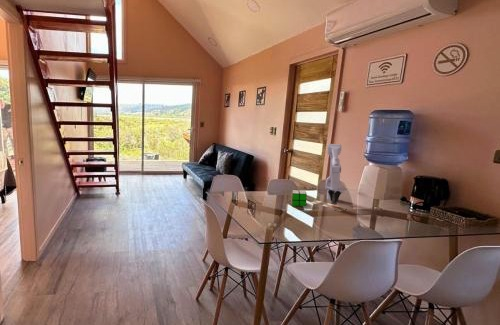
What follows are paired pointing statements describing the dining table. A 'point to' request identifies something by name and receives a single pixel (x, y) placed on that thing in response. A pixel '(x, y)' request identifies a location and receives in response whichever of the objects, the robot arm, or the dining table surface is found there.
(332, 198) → the pawn
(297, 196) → the puzzle cube
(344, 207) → the board
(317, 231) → the dining table surface
